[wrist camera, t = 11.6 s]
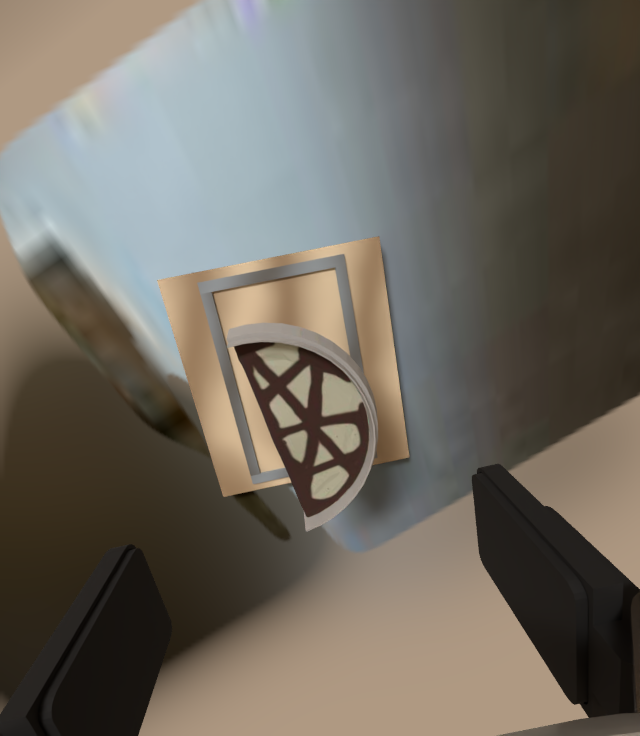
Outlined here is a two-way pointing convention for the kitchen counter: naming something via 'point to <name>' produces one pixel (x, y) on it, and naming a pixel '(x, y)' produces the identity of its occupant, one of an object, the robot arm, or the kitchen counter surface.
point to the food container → (311, 412)
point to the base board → (293, 307)
